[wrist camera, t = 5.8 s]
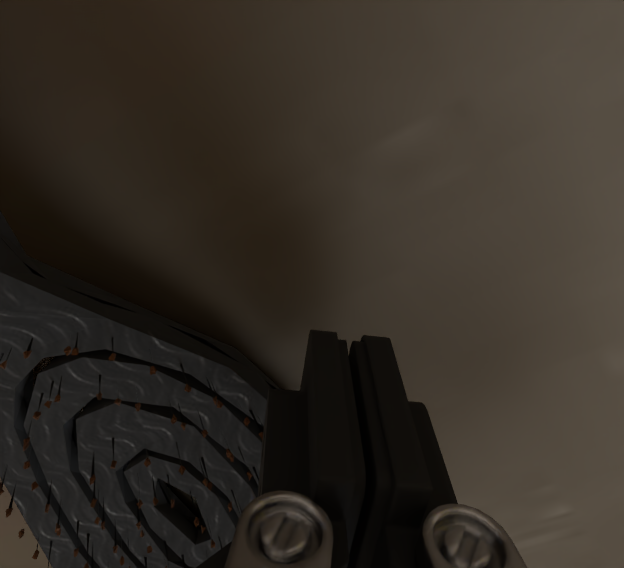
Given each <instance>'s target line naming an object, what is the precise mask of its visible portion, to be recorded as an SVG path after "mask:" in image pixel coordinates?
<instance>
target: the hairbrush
mask: <svg viewBox="0 0 624 568" xmlns="http://www.w3.org/2000/svg"><path fill="white" fill-rule="evenodd" d="M53 356H55V357H54V359H53V360H52V361H51V362H50V364H49V365H47V366H46V367H45V368H44V369H43V370H41V371H40V372H39V373H38V375H37V378H36V381H35V383H34V384H35V386H34V389H33V368H34V367H35V366H36V365H37V364H38V363H39V362H40V361H41V360H42V359H43V358H46V357H53ZM269 388H270V389H280V388H279V387H278V386H277V385H276V384H275V383H274V382H272V381H271V380H270V379H269V378H268V377H267V376H266V375H265V374H264V373H262V372H261V371H260V370H259V369H258V368H257V367H256V366H255V365H254V364H252V363H251V362H250V361H249V360H248V359H247V358H246V357H245V356H244V355H242V354H241V353H240V352H239V351H238V350H237V349H236V348H234V347H231V346H229V345H227V344H225V343H222V342H220V341H218V340H215V339H213V338H211V337H209V336H206V335H204V334H202V333H199V332H197V331H195V330H193V329H190V328H188V327H186V326H184V325H181V324H179V323H177V322H174V321H172V320H170V319H168V318H165V317H163V316H161V315H158V314H156V313H154V312H152V311H149V310H147V309H145V308H142V307H140V306H138V305H136V304H133V303H131V302H129V301H127V300H124V299H122V298H120V297H118V296H116V295H113V294H111V293H109V292H107V291H104V290H102V289H100V288H98V287H96V286H93V285H91V284H89V283H87V282H85V281H82V280H80V279H78V278H76V277H73V276H71V275H69V274H67V273H65V272H62V271H60V270H58V269H56V268H54V267H51V266H49V265H47V264H45V263H43V262H40V261H38V260H36V259H34V258H31V257H29V256H27V255H26V253H25V251H24V250H23V248H22V246H21V245H20V243H19V241H18V240H17V238H16V236H15V235H14V233H13V231H12V230H11V228H10V226H9V224H8V223H7V221H6V219H5V218H4V216H3V214H2V213H1V211H0V477H1V481H2V483H1V482H0V495H1V494H2V493H3V492H4V490H3V489H2V487H3V483H4V484H5V486H6V488H7V490H8V491H9V493H10V495H11V496H12V499H11V502H10V505H9V509H7V510H6V517H8V516H9V515H10V514H11V511H12V510H13V508H12V503H13V500H14V502H15V503H16V505H17V507H18V508H19V510H20V512H21V514H22V515H23V517H24V519H25V520H24V521H26V522H27V524H28V526H29V527H30V529H31V531H32V533H33V534H34V536H35V538H36V539H37V541H38V543H39V545H40V546H41V548H42V550H43V552H44V553H45V555H46V557H47V558H48V560H49V562H50V564H51V565H52V567H53V568H196V567H197V566H199V565H200V564H201V563H203V562H204V561H205V560H207V559H208V558H209V557H211V556H212V555H214V554H215V553H216V552H218V551H219V550H220V549H222V548H223V547H224V546H226V545H227V544H228V543H230V542H231V541H232V540H233V536H234V533H235V529H236V526H237V523H238V519H239V517H240V515H241V513H242V511H243V509H244V508H245V507H246V506H247V505H248V504H249V503H250V502H251V501H252V500H253V499H255V498H257V497H258V487H259V475H260V462H261V451H262V440H263V431H264V422H265V414H266V406H267V398H268V391H269ZM86 404H87V405H86ZM85 405H86V406H85ZM84 406H85V408H84V410H83V411H82V413H81V414H80V415H79V413H80V411H81V409H82V408H83V407H84ZM78 415H79V416H78ZM75 422H76V423H75ZM130 459H131V462H130ZM165 482H166V483H168V484H169V488H170V485H172V486H174V487H176V488H178V489H180V490H182V491H183V492H185V493H187V494H189V495H191V499H192V496H193V497H195V498H196V501H197V506H199V508H198V511H199V509H200V511H201V514H202V517H203V518H201V515H200V511H199V517H200V518H199V519H198V517H195V516H194V515H193V513H192V512H191V511H190V510H189V509H188V508H187V507H186V506H185V505H184V504H183V503H182V502H181V501H180V500H179V499H178V497H177V496H176V495H175V494H174V493H173V492H172V491H171V489H169V488H168V487H167V486H166V483H165ZM192 503H193V500H192ZM193 507H194V505H193ZM194 511H195V510H194ZM195 515H196V514H195ZM23 535H24V529H22V530H21V531H19V537H20V538H21V537H22V536H23ZM37 548H38V544H37ZM38 554H39V551H38V550H36V551H35V553H34V555H33V557H32V558H34V559H37V557H38ZM49 562H48V567H49Z"/></svg>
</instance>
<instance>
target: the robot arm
mask: <svg viewBox="0 0 624 568" xmlns="http://www.w3.org/2000/svg"><path fill="white" fill-rule="evenodd" d="M196 568H527V566H526V564H525V563H524V561H523V559H522V557H521V555H520V554H519V552H518V550H517V548H516V547H515V545H514V543H513V541H512V539H511V538H510V537H509V535H508V534H507V533H506V531H505V530H504V529H503V527H502V526H501V525H499V524H498V523H497V522H496V521H495V520H494V519H493V518H492V517H490V516H489V515H487V514H485V513H483V512H482V511H480V510H478V509H476V508H473V507H470V506H467V505H462V504H458V503H457V500H456V497H455V494H454V491H453V487H452V484H451V481H450V478H449V475H448V472H447V469H446V466H445V463H444V460H443V457H442V454H441V451H440V448H439V445H438V442H437V439H436V436H435V433H434V430H433V426H432V423H431V420H430V417H429V414H428V411H427V409H426V407H425V405H424V404H423V403H420V402H409V401H408V400H407V396H406V393H405V389H404V386H403V382H402V379H401V375H400V372H399V368H398V365H397V361H396V358H395V354H394V351H393V347H392V344H391V340H390V338H386V337H377V336H367V335H363V336H362V338H361V341H360V342H359V341H353V342H352V344H351V347H350V352H349V356H348V349H347V343H346V340H339V339H338V337H337V333H336V332H328V331H319V330H310V334H309V339H308V345H307V351H306V357H305V364H304V370H303V376H302V382H301V389H300V391H291V390H281V389H270V388H269V391H268V398H267V406H266V414H265V422H264V431H263V440H262V451H261V462H260V475H259V487H258V497H257V498H255V499H253V500H252V501H251V502H250V503H249V504H248V505H247V506H246V507H245V508H244V509H243V511H242V513H241V515H240V517H239V519H238V523H237V526H236V529H235V533H234V536H233V540H232V541H231V542H230V543H228V544H227V545H226V546H224V547H223V548H222V549H220V550H219V551H218V552H216V553H215V554H214V555H212V556H211V557H209V558H208V559H207V560H205V561H204V562H203V563H201V564H200V565H199V566H197V567H196Z"/></svg>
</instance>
